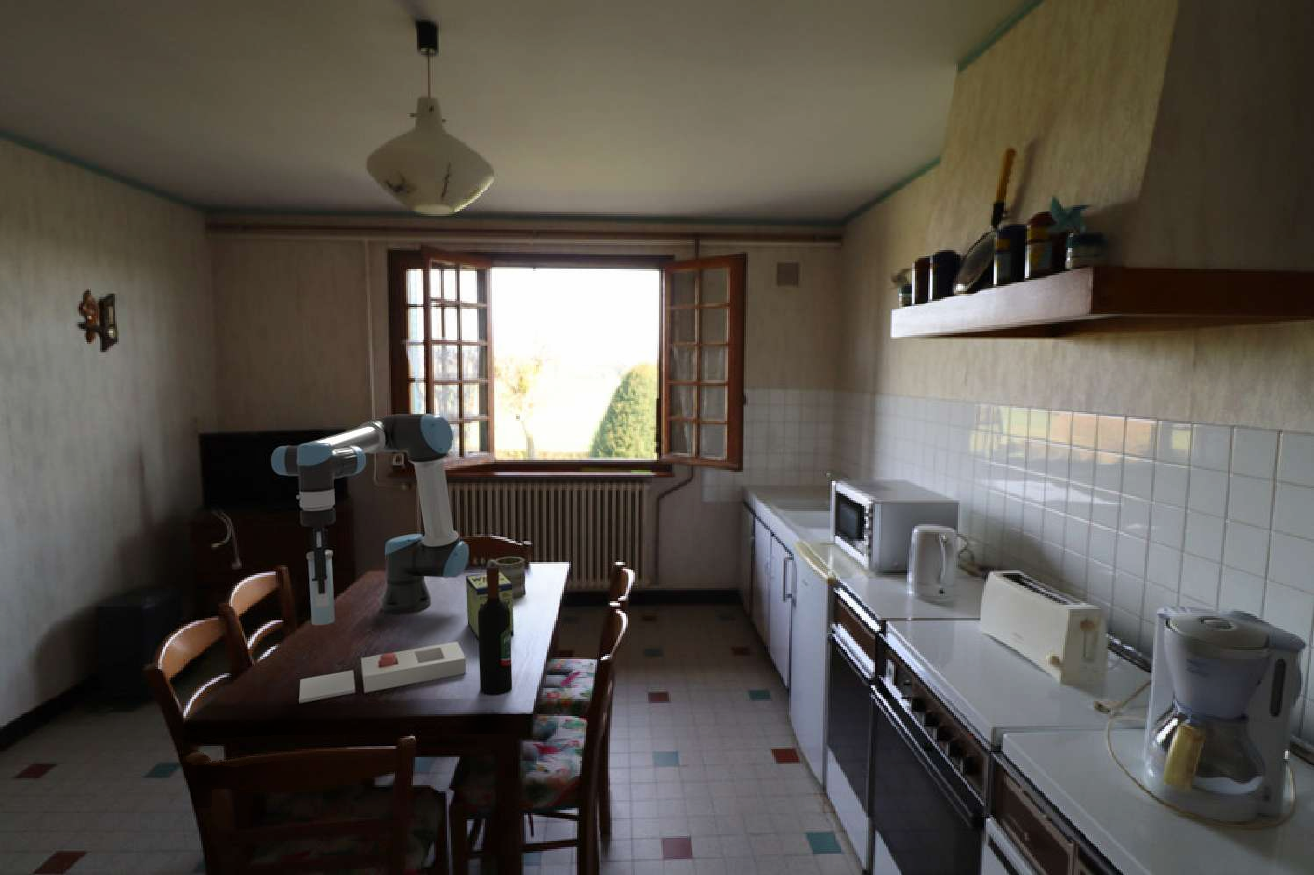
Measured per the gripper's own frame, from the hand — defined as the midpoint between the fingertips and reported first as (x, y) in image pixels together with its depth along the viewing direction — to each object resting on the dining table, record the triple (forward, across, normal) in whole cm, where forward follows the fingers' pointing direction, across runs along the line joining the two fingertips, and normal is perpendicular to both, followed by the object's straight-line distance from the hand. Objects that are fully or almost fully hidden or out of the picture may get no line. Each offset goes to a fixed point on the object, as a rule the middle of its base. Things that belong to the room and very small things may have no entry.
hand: (322, 602), depth 167 cm
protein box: (+22, -20, +44) cm, 53 cm away
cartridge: (+5, 0, 0) cm, 5 cm away
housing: (+21, +1, +20) cm, 29 cm away
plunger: (+20, +1, +14) cm, 25 cm away
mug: (+22, -52, +56) cm, 80 cm away
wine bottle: (+22, +19, +37) cm, 47 cm away
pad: (+21, 0, 0) cm, 21 cm away
